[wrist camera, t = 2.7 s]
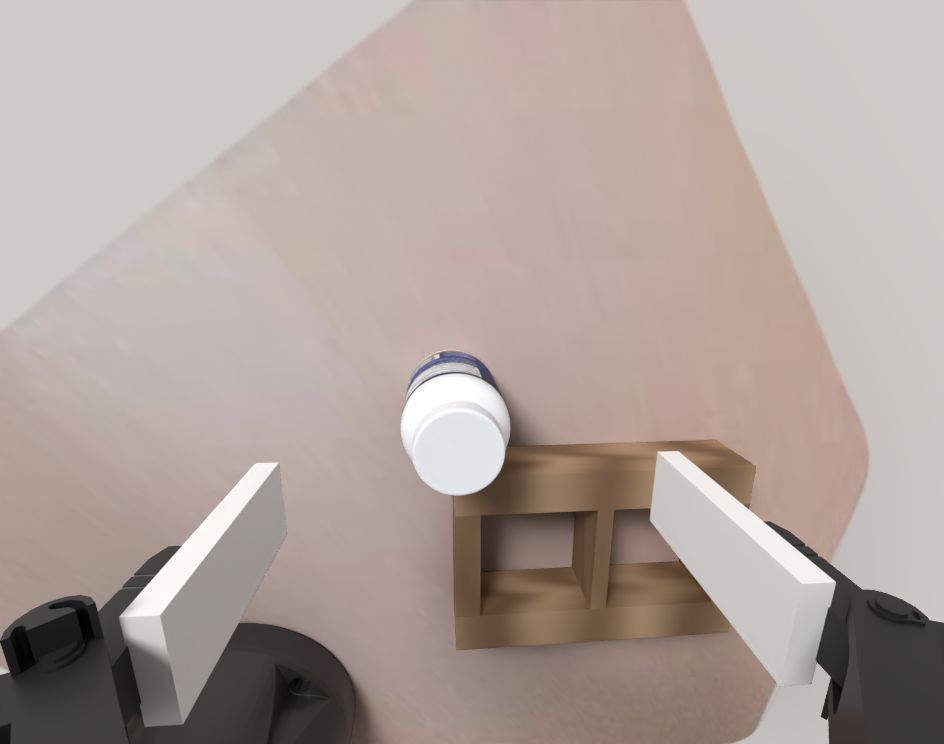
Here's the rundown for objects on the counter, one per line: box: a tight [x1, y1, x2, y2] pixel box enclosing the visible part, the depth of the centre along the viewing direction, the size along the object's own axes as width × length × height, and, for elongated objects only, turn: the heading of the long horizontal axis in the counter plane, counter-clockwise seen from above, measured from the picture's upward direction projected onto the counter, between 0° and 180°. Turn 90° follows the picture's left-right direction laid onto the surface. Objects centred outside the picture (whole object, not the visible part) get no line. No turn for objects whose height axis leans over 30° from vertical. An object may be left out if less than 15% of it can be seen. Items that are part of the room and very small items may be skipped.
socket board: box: [453, 440, 756, 650], centre depth 30 cm, size 18×12×4 cm, turn 90°
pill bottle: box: [401, 350, 511, 496], centre depth 24 cm, size 5×5×10 cm
